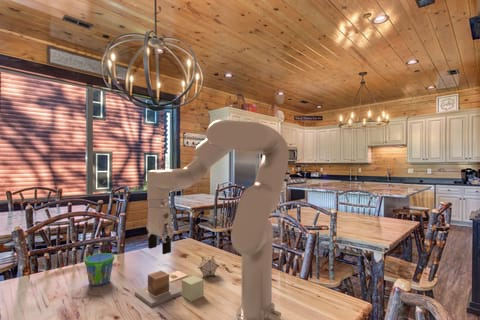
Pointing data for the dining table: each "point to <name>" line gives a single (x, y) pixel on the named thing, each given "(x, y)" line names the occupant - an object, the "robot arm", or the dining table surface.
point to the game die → (208, 266)
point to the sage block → (192, 288)
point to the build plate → (156, 300)
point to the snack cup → (99, 268)
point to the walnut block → (158, 283)
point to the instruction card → (176, 276)
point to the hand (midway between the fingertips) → (159, 250)
